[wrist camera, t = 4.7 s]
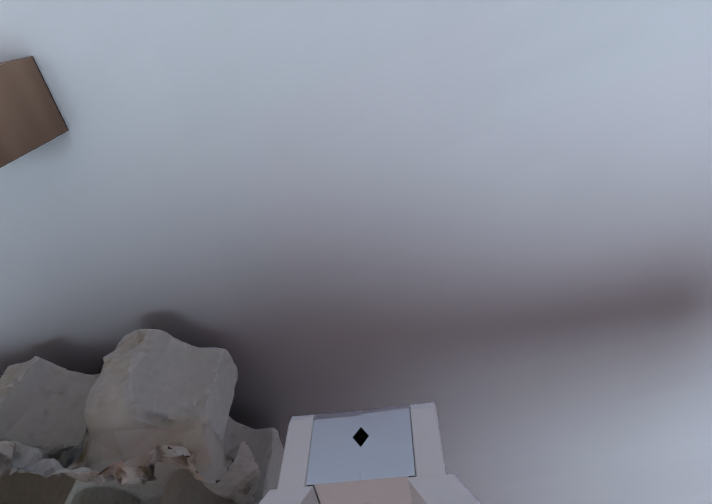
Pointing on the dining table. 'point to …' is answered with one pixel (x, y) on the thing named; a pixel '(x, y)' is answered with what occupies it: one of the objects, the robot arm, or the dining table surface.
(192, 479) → the egg carton
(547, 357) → the dining table surface
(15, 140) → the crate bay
